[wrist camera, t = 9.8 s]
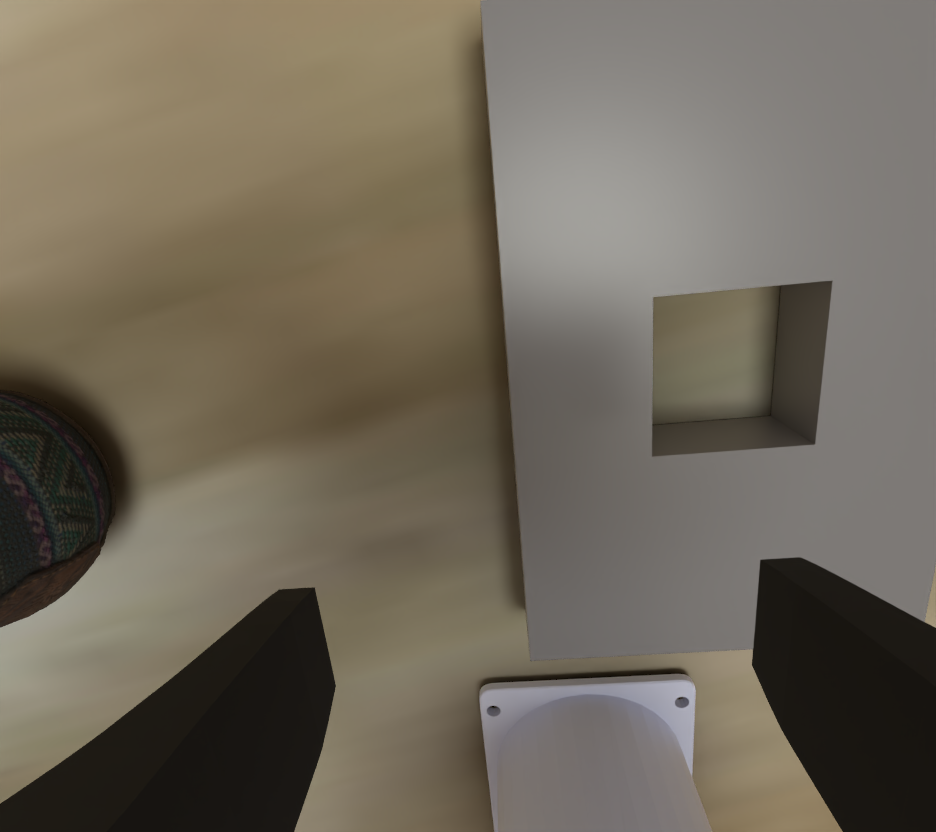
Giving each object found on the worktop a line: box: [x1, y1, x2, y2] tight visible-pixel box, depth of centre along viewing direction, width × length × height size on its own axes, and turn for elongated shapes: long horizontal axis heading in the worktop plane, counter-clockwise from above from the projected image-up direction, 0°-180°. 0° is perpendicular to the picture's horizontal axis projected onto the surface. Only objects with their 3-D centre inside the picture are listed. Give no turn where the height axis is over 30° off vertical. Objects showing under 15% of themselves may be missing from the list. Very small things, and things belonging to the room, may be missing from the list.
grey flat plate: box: [481, 0, 936, 661], centre depth 16 cm, size 18×12×2 cm, turn 6°
